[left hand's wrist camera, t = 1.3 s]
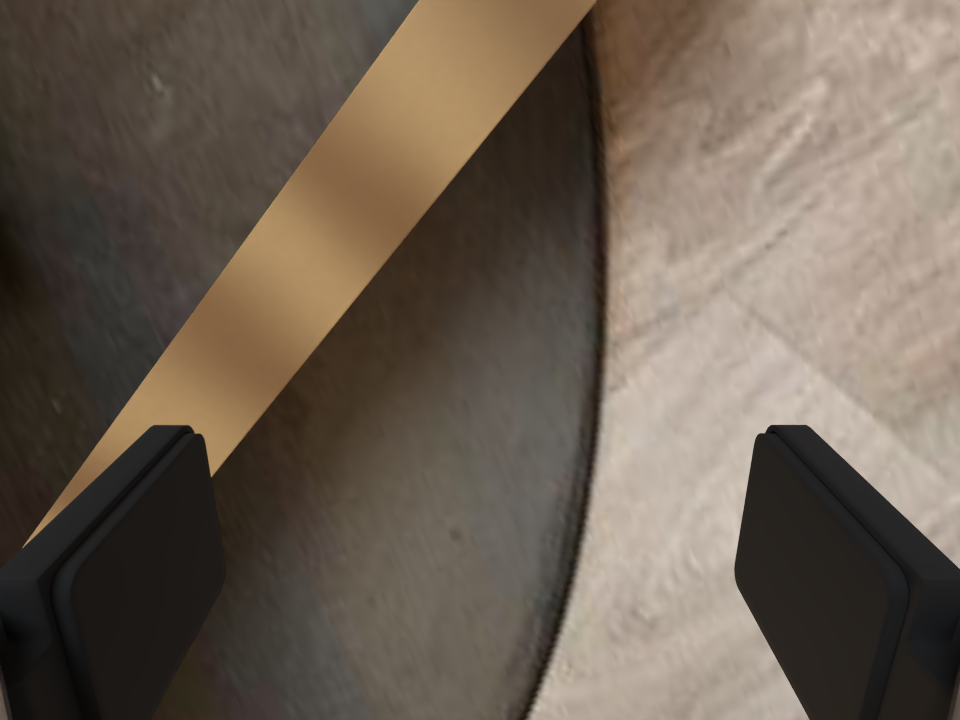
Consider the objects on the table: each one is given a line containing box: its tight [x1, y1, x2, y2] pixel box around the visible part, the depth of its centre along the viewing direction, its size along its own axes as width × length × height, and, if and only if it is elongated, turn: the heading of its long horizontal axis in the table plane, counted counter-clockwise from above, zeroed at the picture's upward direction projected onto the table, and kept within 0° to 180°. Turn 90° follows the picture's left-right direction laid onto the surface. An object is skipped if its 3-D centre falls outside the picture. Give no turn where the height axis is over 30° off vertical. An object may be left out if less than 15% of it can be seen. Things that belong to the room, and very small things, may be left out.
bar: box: [23, 0, 597, 547], centre depth 31 cm, size 71×4×7 cm, turn 140°
